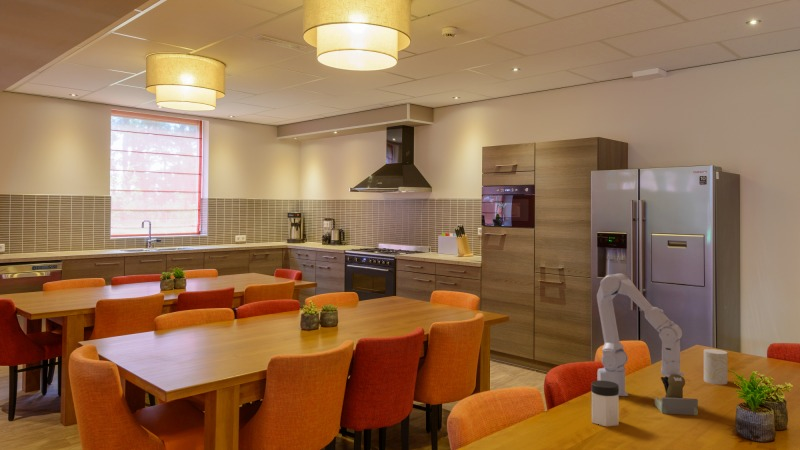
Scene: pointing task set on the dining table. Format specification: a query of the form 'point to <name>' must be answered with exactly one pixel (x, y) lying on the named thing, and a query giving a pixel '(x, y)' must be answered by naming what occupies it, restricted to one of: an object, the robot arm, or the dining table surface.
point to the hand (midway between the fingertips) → (671, 399)
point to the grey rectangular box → (677, 405)
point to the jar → (605, 403)
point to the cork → (675, 387)
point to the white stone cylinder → (715, 366)
